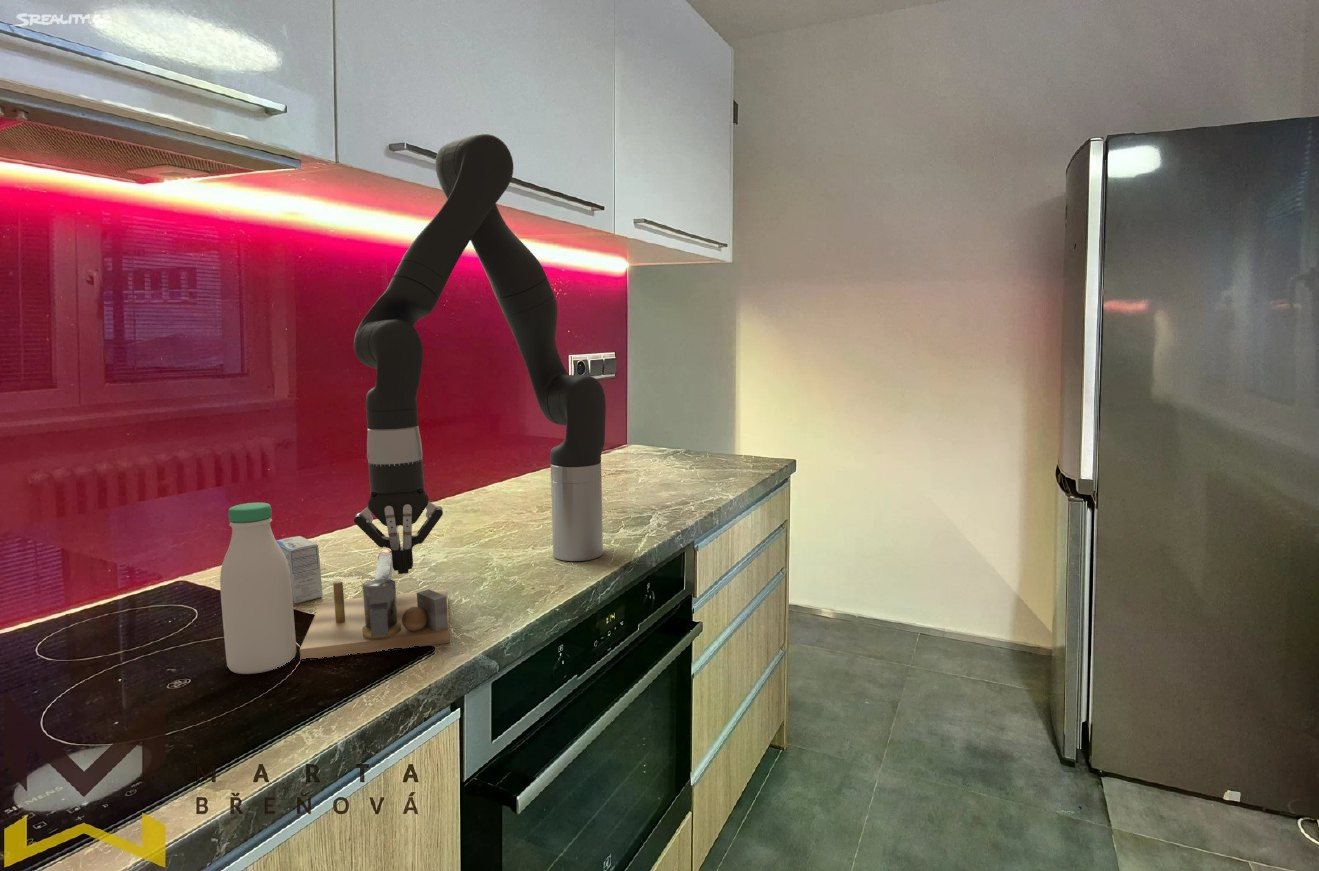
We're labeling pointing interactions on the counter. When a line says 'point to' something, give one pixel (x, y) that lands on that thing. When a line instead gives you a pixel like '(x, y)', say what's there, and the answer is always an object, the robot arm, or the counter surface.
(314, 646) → the base
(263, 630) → the milk bottle
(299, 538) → the medicine box
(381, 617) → the lever
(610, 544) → the counter surface
